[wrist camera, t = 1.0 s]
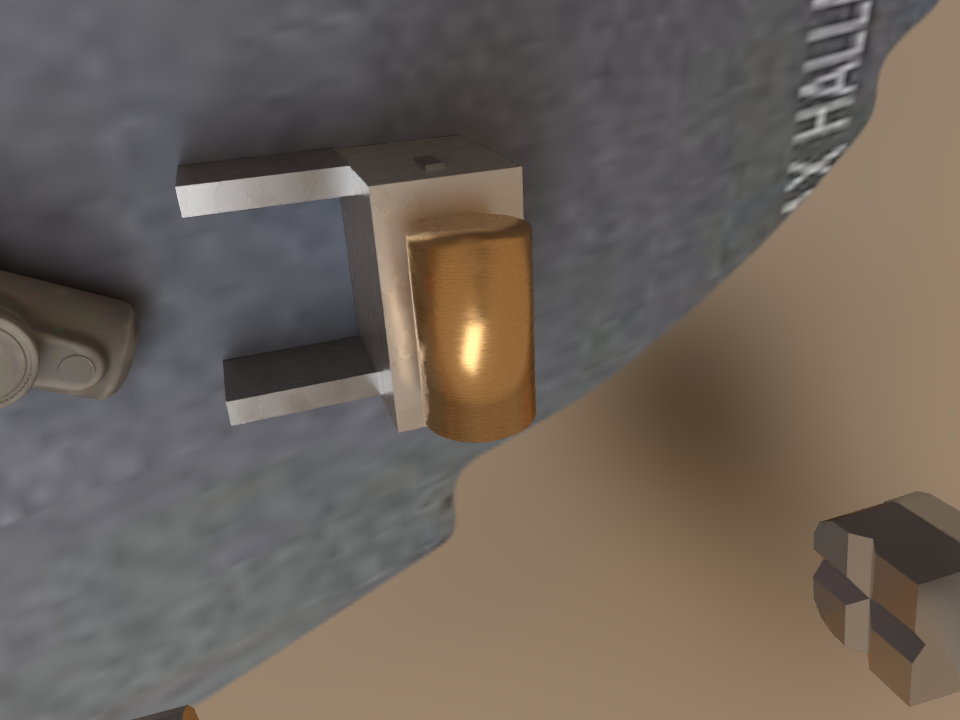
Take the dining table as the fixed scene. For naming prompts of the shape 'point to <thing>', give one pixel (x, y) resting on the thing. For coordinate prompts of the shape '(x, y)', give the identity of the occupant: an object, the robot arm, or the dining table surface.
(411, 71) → the dining table surface
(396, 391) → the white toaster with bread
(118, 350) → the vintage flashlight
